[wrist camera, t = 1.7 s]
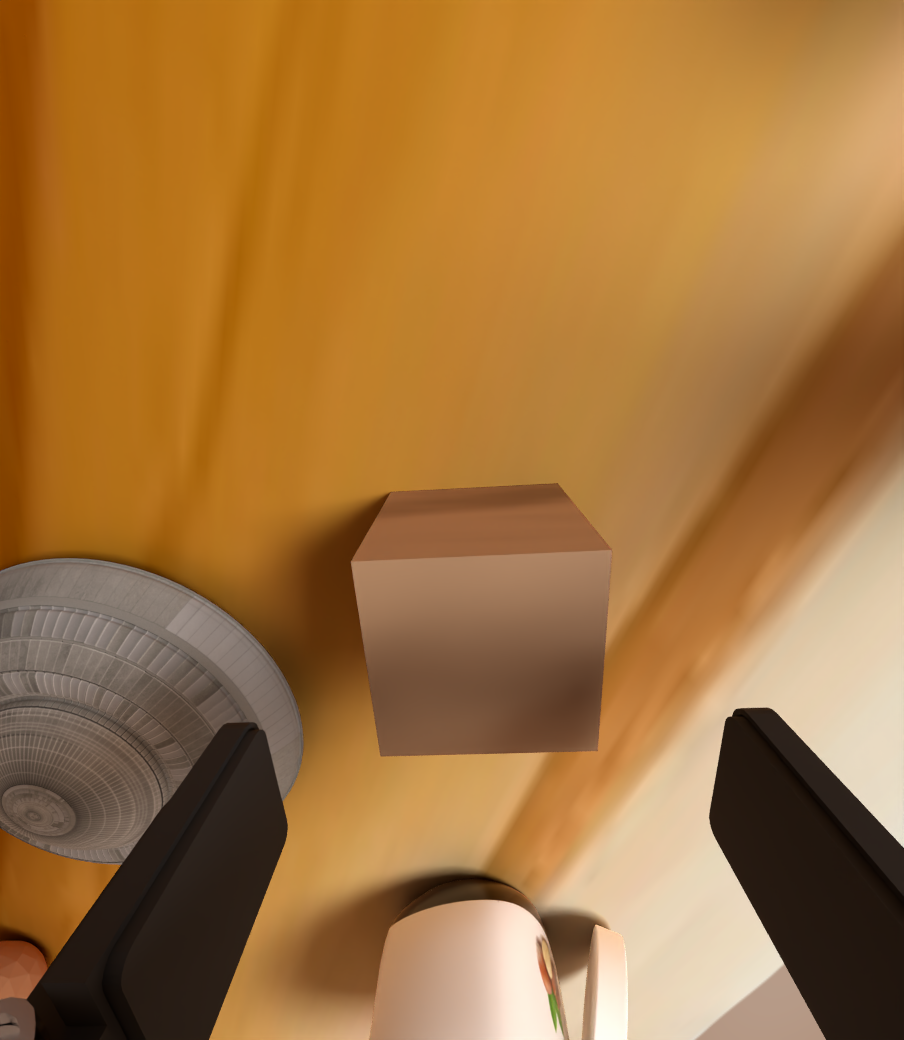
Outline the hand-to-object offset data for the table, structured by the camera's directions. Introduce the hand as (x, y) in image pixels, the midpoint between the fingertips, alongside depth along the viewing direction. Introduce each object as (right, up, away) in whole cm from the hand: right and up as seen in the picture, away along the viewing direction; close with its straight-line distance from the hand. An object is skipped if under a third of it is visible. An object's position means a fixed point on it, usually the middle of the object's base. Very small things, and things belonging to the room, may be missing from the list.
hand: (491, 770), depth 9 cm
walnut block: (0, +3, +8) cm, 8 cm away
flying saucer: (-14, -3, +11) cm, 18 cm away
